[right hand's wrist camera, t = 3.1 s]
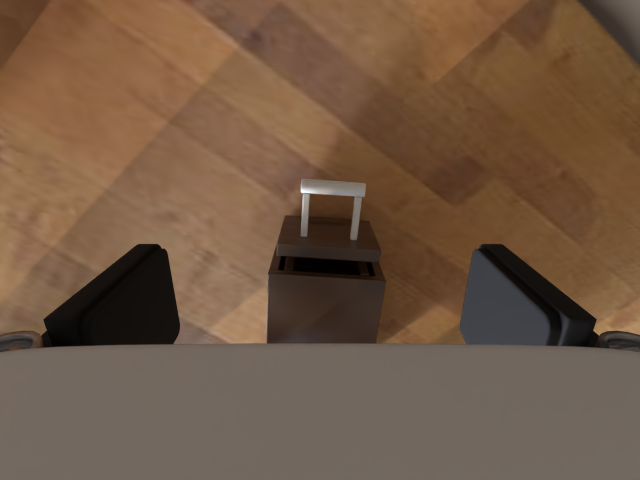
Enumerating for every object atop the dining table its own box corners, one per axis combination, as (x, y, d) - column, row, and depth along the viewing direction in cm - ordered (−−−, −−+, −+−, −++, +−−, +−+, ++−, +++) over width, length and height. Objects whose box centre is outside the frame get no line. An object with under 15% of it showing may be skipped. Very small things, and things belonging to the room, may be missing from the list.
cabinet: (279, 233, 40) (268, 273, 31) (370, 239, 40) (385, 281, 31) (275, 359, 46) (264, 423, 37) (353, 364, 47) (362, 428, 37)
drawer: (287, 165, 36) (278, 182, 29) (375, 172, 36) (390, 190, 29) (279, 342, 44) (272, 391, 37) (352, 346, 44) (359, 395, 37)
